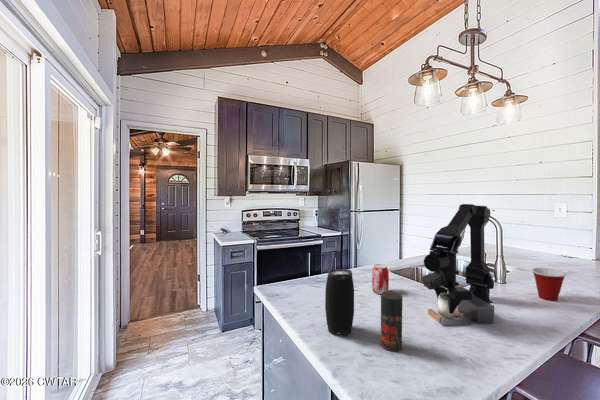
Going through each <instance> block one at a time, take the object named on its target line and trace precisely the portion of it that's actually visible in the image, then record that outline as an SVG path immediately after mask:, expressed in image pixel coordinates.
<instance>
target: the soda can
mask: <svg viewBox="0 0 600 400" xmlns="http://www.w3.org/2000/svg"><path fill="white" fill-rule="evenodd" d="M371 274H372V275H371V277H372V280H371V282H372V283H371V287H372V292H374V293H375V294H378V295H381V293H383V292H389V283H390V281H389V280H390V277H389V275H390V272H389V268H388V265H385V264H379V263H378V264H376V263H375V264H374V265H373V267H372V273H371Z"/></svg>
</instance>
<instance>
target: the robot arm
mask: <svg viewBox="0 0 600 400" xmlns="http://www.w3.org/2000/svg"><path fill="white" fill-rule="evenodd" d="M490 217H491V210H490V208H488V206H487V205H476V204H473V203H472V204H471V203H462V204H460V205H459V207H458V210H457V211H456V212H455V214H454V216H453V217H452V219H451V220H450V222H449V223H448V224H447V225H445V226H443V227H441V228H440V229H439V230H438V231H437V232H436V233H435V234H434V236H433V237H434V238H433V239H432V242H431V245H430V248H429V250H430V251H429V254H427V255H426V256H425V257H424V259H423V264H424V267H425V268H426V269H427V270H428V271H430V272H432V273H428V274H425V275H424V276H423V275H422V276H421V280H422V283H423V286H424V287H426V288H427V289H428V290H434V292H435V294H436V298H437V299H438V296H439V295H440V293H448V294H444V295H445V296H446V297H447V298H448V306H449V313H453V312H454V311H455V310H456V309H458V305H459V303H460V302H461V301H462V300H472V299H473V295H474V296H476V297H478V298H480V299H482V300H484V301H485V302H487V303H489V304H491V303H493V300H491V299H490V290H493V289H494V287H495V281H494V279H493V277H492V274H491V272H490V271H491V270H490V268H489V266H488V264H487V263H486V261H485V255H486V254H485V253H486V252H485V227H486V225H487V223H488V224H489V221H490ZM466 226H469V228H470V229H469V230H470V231H469V232H470V235H469V238H470V262H469V263H468V265H466V267H465V272H464V277H465V283H466V284H467V285H469V289H467V288H465V287H462V286H461V287H459V285H460V282H458V281H457V275H459V274H460V271H459V270H457V254H458V253H459V248H460V246H461V244H462V240H463V239H462V236H461V235H462V232H463V231H464V229H465V228H466Z"/></svg>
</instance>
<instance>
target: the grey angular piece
mask: <svg viewBox="0 0 600 400" xmlns="http://www.w3.org/2000/svg"><path fill="white" fill-rule="evenodd" d="M427 314H428V316H430V317H431V318H432V319H433V320H435V322H437V323H438V324H440V325H441V326H442V327H449V326H450V327H452V326H455V327H456V326H469V325H470V323H474V324H477V325H485V324H486V325H488V324H494V323H495V305H493V304H491V303H487V302H485V301H484V300H482V299H480V298H478V297H476V296H474V295H473V299H472V300H462V301H461V302H460V303H459V305H458V306H457V310H456V309H455V311H454V317H444V316H441V315H439V314H438V312H436V311H435V310H434V309H433V308H428V309H427ZM443 317H444V318H443Z"/></svg>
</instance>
